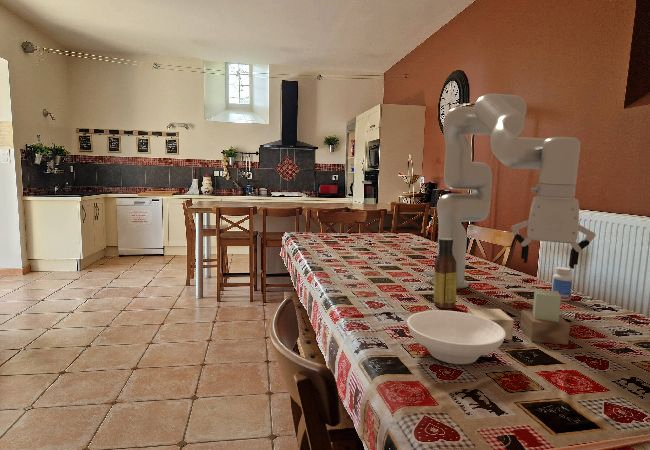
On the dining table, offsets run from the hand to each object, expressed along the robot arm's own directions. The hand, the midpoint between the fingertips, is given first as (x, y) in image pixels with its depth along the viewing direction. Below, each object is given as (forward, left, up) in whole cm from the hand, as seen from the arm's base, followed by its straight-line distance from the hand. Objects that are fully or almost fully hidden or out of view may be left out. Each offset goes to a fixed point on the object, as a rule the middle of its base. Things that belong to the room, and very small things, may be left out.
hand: (547, 264), depth 97 cm
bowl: (-18, -22, -18) cm, 34 cm away
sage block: (0, 0, -13) cm, 13 cm away
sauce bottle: (-25, +12, -18) cm, 32 cm away
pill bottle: (+7, +38, -18) cm, 42 cm away
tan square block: (0, 0, -18) cm, 18 cm away
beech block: (-12, -4, -18) cm, 22 cm away
